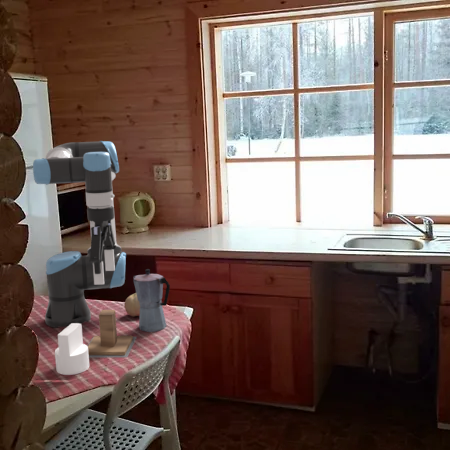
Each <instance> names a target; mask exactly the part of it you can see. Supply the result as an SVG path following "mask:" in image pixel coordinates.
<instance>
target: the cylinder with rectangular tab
mask: <svg viewBox="0 0 450 450" xmlns="http://www.w3.org/2000/svg"><path fill="white" fill-rule="evenodd" d="M83 339H84V338H83V327H82V323H81V324H79V323H71V324H70V325H69V326H67V327H64V329H63V330H62V331H61V332H59V333H58V334H57V342H58V343H57V344H58V347H57V348H55V350H54V357H55V359H54V360H55V370H56V372H57V373H58V374H61V375H64V376H71V375H77V374H81V373H84V372H85V371H87V370H89V368H90V358H89V354H88V344H85V343H84V340H83Z"/></svg>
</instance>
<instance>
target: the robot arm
mask: <svg viewBox="0 0 450 450" xmlns="http://www.w3.org/2000/svg"><path fill="white" fill-rule="evenodd" d="M32 171H33V173H32V174H33V181H34V183H35V184H37V185H54V184H69V183H70V184H72V183H84V184H85V202H86V204H85V205H86V206H87V209H86V214H87V215H86V216H87V220H88V221H89V226H90V240H91V241H90V247H89V248H87V252H86V253H87V255H82V254H81V252H80V251H78V250H75V251H74V250H70V251H64V252H60V253H57V254H54V255H52V256H50V257H49V258H48V259H46V262H45V263H46V264H45V269H46V270H45V274H46V281H47V293H48V304H47V308H46V312H45V315H44V319H45V320H44V321H45V324H46V325H47V326H48V327H51V328H56V329H58V328H62V327H63V328H67V327H68V326H69V325H70V324H71V323H79V324H81V325H82V324H84V323H87V322H89V321H90V320H91V318H92V316H91V315H92V314H91V310H90V307H89V306H88V302H87V300H86V298H85V293H84V292H85V290H87V291H88V290H99V289H100V290H101V289H112V288H117V287H122V286H123V285H124V284H125V280H126V258H127V253H126V252H125V251H122V246H120V245H119V244H118V243H117V232H116V220H115V217H116V216H115V208H114V207H115V206H114V198H115V194H114V193H113V181H114V179H116V177H117V176H116V174H118V173H119V172H120V165H119V160H118V155H117V150H116V146H115V144H114V143H113V142H112V141H105V140H104V141H103V140H99V141H82V142H81V141H79V142H74V141H73V142H66V143H63V144H60V145H57V146H55V147H53V148H51V149H50V150H49V151H48V152H47V153H46V155H45V158H36V159H34V160H33V162H32Z"/></svg>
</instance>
